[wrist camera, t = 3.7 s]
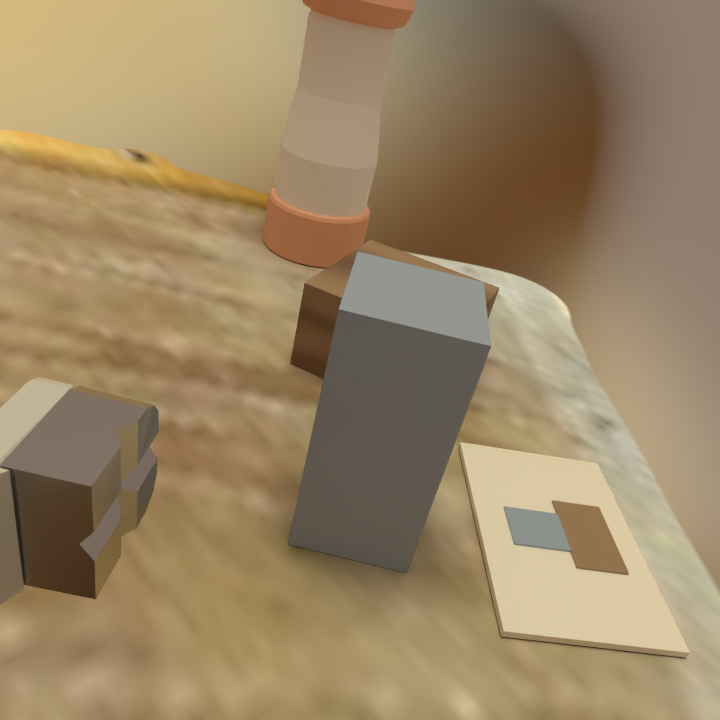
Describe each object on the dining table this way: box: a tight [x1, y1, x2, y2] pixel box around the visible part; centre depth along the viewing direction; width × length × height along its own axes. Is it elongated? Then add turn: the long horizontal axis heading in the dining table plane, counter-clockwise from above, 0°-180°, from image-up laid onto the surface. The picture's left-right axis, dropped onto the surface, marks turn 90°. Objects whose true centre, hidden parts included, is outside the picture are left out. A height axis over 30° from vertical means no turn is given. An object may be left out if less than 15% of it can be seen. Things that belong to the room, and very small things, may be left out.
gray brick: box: [288, 252, 491, 573], centre depth 23 cm, size 4×4×10 cm
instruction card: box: [458, 442, 690, 658], centre depth 27 cm, size 10×7×1 cm
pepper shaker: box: [263, 0, 415, 268], centre depth 42 cm, size 7×7×19 cm
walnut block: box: [290, 240, 499, 379], centre depth 35 cm, size 8×8×5 cm
